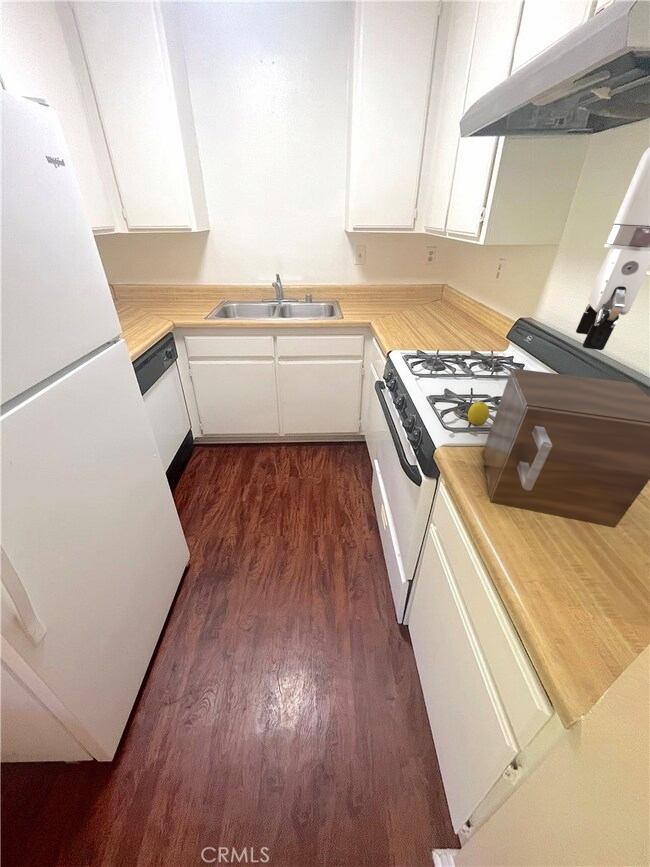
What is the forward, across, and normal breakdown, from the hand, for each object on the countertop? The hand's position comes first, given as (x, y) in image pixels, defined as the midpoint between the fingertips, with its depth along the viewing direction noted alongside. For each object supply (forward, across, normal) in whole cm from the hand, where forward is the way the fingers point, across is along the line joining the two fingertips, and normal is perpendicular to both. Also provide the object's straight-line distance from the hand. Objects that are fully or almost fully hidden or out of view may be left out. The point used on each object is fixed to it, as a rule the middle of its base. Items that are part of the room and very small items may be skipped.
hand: (588, 340), depth 66 cm
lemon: (+34, +18, +14) cm, 40 cm away
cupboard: (+33, -3, -3) cm, 34 cm away
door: (+33, -16, -5) cm, 37 cm away
